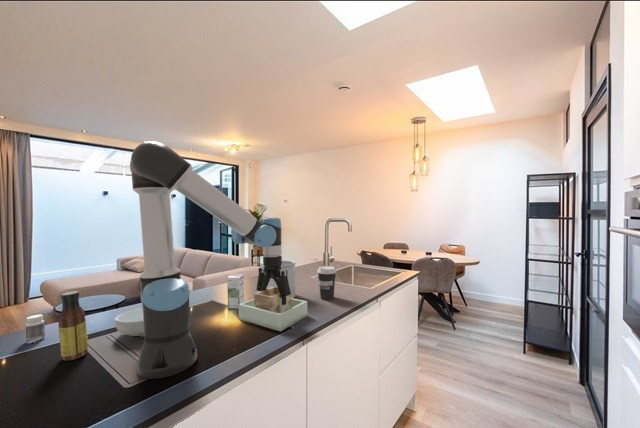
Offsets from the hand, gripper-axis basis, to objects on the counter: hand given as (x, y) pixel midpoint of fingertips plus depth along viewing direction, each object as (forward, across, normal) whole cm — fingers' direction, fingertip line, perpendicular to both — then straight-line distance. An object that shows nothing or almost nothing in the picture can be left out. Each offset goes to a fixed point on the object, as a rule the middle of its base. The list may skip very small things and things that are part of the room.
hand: (273, 310), depth 114 cm
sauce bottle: (+3, +32, +54) cm, 63 cm away
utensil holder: (+3, +15, -22) cm, 27 cm away
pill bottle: (+3, +58, +58) cm, 82 cm away
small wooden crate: (0, 0, 0) cm, 0 cm away
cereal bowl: (+3, +32, +34) cm, 47 cm away
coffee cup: (+3, -6, -32) cm, 33 cm away
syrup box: (+3, +23, 0) cm, 23 cm away
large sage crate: (+3, 0, 0) cm, 3 cm away
